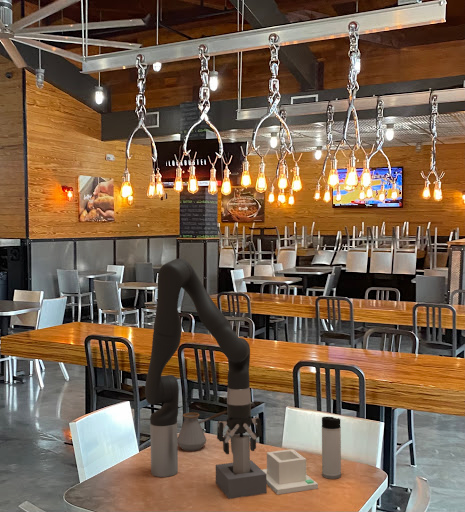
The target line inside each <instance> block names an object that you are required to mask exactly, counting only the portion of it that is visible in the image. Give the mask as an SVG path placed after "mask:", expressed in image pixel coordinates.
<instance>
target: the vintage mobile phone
mask: <svg viewBox="0 0 465 512" xmlns="http://www.w3.org/2000/svg"><path fill="white" fill-rule="evenodd" d="M250 438H251V437H250V435H245V434H242V433H240V434H234V435H233V436H232V437H231V438H230V449H231V453H232V463H233V474H234V475H237V474H244V473H250V460H251V454H250V453H251V450H250Z"/></svg>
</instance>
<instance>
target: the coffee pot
mask: <svg viewBox="0 0 465 512" xmlns="http://www.w3.org/2000/svg"><path fill="white" fill-rule="evenodd" d="M226 414H227V410H223V411H221V412H218V413H216V414H213V415H212V416H209V417H208V418H207V417H206V418H204V419H202V420H201V419H200V420H199V417H200V413H199V412H186V413H183V414H182V417H183V419H184V421H183V424H182V426H181V428H180V430H179V434H178V435H177V439H178V447H180V448H181V449H182V450H183V451H188V452H193V451H194V452H195V451H199V450H201V449H202V448H203V447H204V446H205V444H206V442H207V437H206V435H205V433H204V430H203V428H202V426H201V424H203V423H204V422H207V421H209V420H213V419H215V418H218V417H221V416H222V415H223V416H224V415H226Z"/></svg>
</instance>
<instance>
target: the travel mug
mask: <svg viewBox="0 0 465 512" xmlns="http://www.w3.org/2000/svg"><path fill="white" fill-rule="evenodd" d="M341 428H342V427H341V418H337V417H334V416H323V417H322V416H321V463H322V464H321V465H322V466H321V470H322V471H321V475H322V477H323V478H325V479H328V480H336V479H340V478H341V476H342V440H341V438H342V434H341V433H342V432H341Z"/></svg>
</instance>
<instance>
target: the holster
mask: <svg viewBox="0 0 465 512" xmlns="http://www.w3.org/2000/svg"><path fill="white" fill-rule="evenodd" d="M215 484H216V485H217V487H218V488H219V489H220V490H221V491H222V492H223V494H224V495H225V497H226V498H227V499H228V500H230V499H236V498H237V499H238V498H243V497H250V496H257V495H263V494H267V488H268V486H267V484H266V473H265V472H263V471H262V469H261V468H260V466H258V465H257V464H256V463H255V461H253V460H251V459H250V473H244V474H237V475H234V474H233V462H228V463H227V462H226V463H219V464H215Z"/></svg>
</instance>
